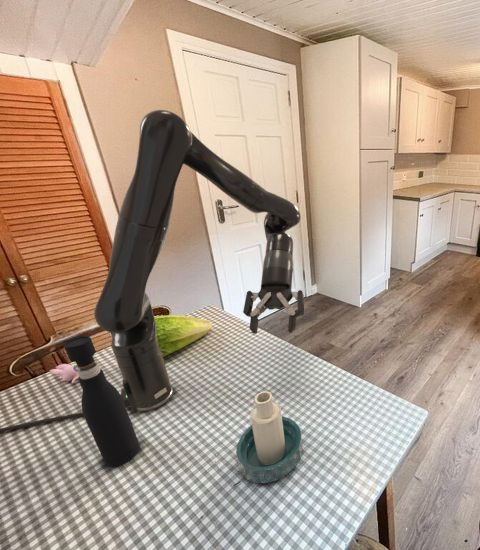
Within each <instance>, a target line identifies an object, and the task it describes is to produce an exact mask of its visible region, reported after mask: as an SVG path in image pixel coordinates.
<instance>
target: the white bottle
mask: <svg viewBox="0 0 480 550" xmlns="http://www.w3.org/2000/svg"><path fill="white" fill-rule="evenodd" d="M254 405H255V407H253V409H252V410H251V412H250V417H249V418H250V422H251V426H252V429H253V434H254V440H255V446H256V451H257V456H258V460H259V461H260V463H262V464H264V465H273V464H275V463H277V462H279V461H280V460H281V459H282V458H283V456H284V454H285V451H286V449H285V439H284V431H283V423H282V409H281V408H282V407H281V406H280V404H279V403H277V402H275V401H274V398H273V394H272V392H271V391H261V392H259V393H257V394H256V395H255V397H254Z"/></svg>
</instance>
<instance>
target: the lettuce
mask: <svg viewBox="0 0 480 550" xmlns="http://www.w3.org/2000/svg"><path fill="white" fill-rule="evenodd" d="M154 319H155V323H156V335H157V339H158V343H159V346H160V349H161V353H162V356H163V358H164V357H166V356H168V355H170V354H173V353H175V352H177V351H179V350H181V349H183V348H185V347H187V346H188V345H190V344H192V343H194V342H196V341H197V340H199V339H201V338H202V337H203V336H205V335H206V334H208V333H209V332H210V331H211V330H212V328H213V325H212V323H211V321H210V320H208V319H204V318H198V317H194V316H190V315H189V316H188V315H181V314H179V315H177V314H163V315H156V316H155V315H154Z"/></svg>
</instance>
